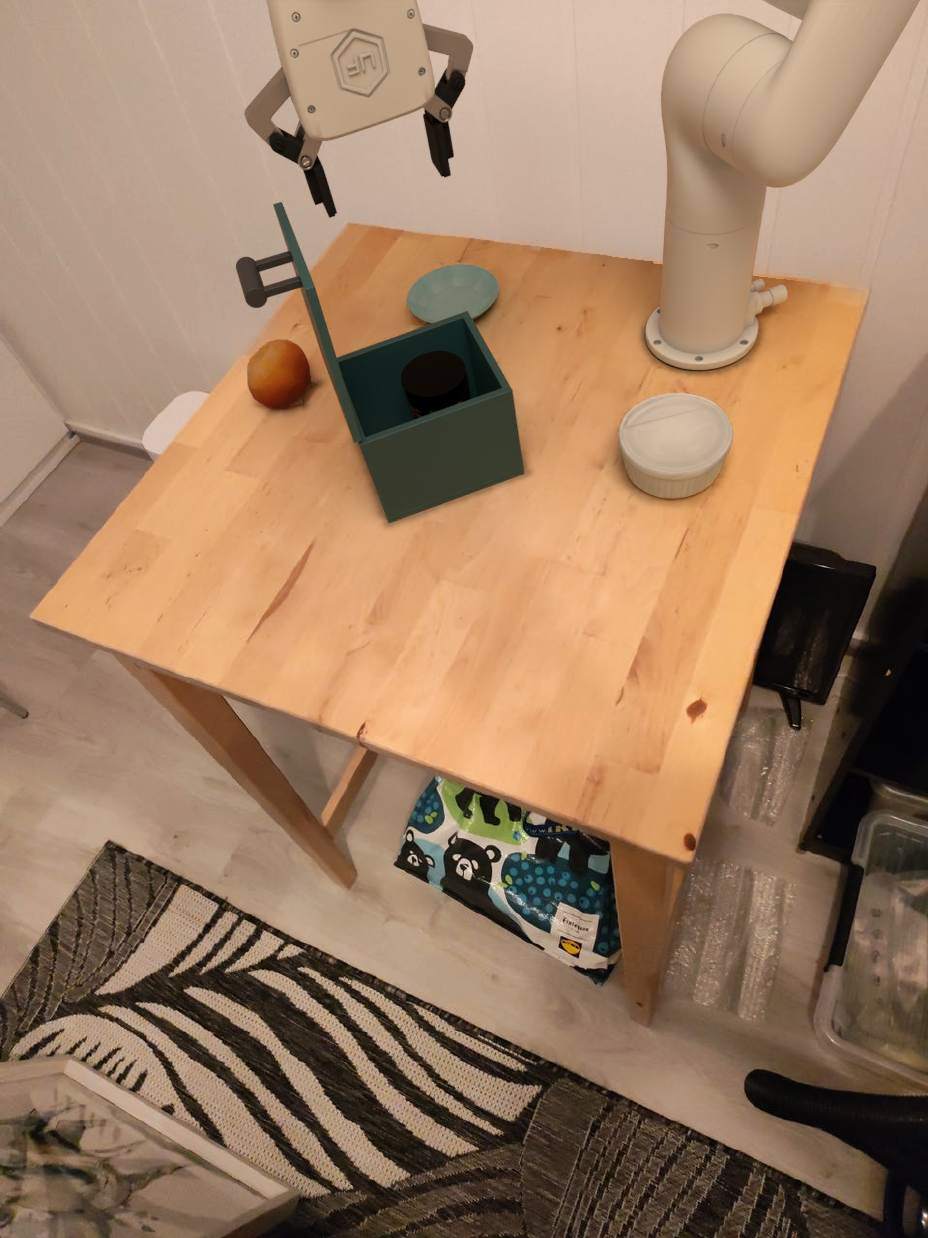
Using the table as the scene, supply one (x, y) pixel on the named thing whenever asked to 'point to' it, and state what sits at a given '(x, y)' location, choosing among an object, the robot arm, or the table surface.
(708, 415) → the ramekin
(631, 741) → the table surface
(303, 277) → the lid
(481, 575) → the table surface
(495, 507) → the table surface
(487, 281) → the saucer
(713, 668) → the table surface
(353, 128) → the robot arm
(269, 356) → the fruit
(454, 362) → the supplement container
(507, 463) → the box
